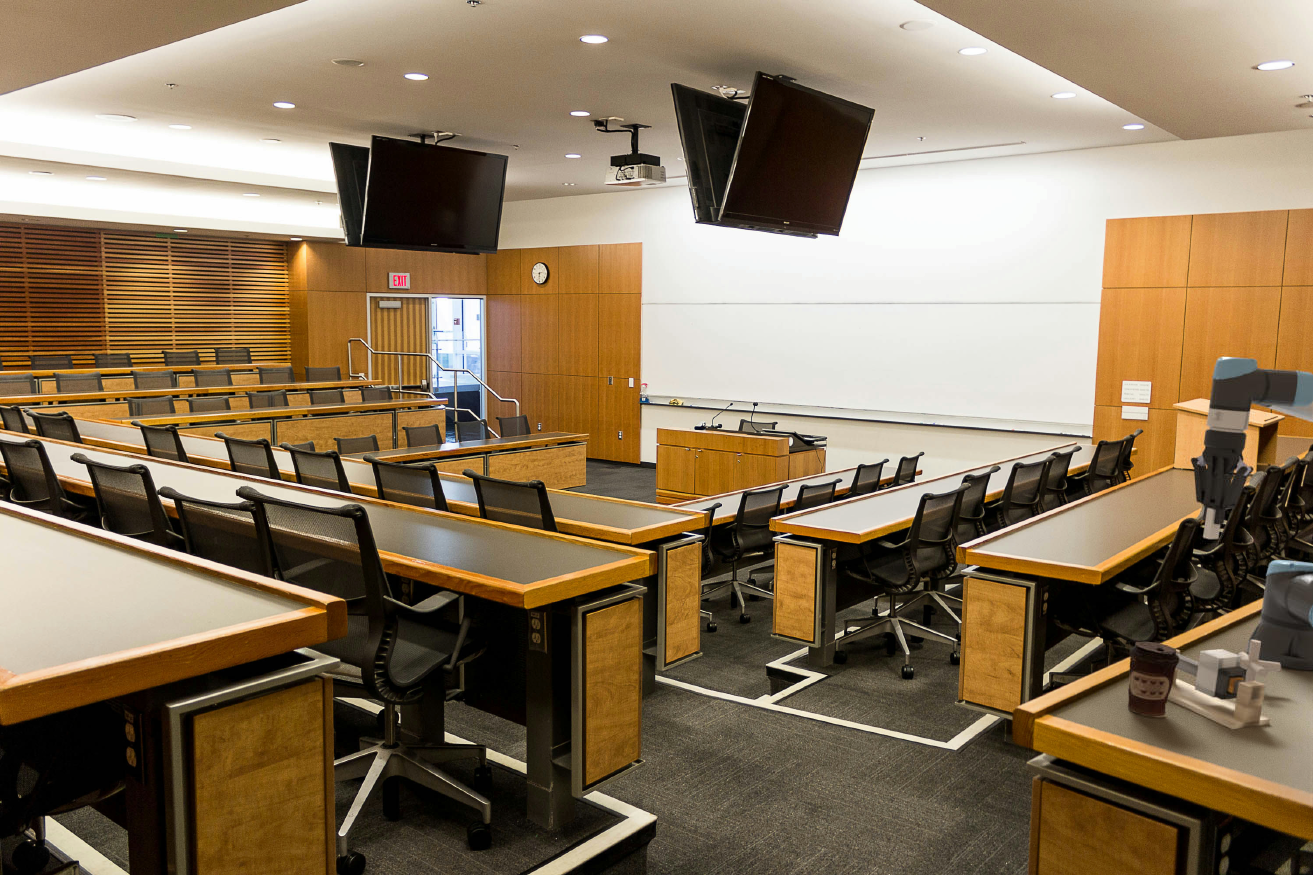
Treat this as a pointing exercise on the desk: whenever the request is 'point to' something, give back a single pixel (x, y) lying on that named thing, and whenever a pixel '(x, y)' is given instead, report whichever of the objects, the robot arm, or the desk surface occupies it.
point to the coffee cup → (1151, 677)
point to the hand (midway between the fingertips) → (1210, 537)
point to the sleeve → (1213, 668)
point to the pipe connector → (1256, 662)
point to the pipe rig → (1215, 708)
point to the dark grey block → (1223, 681)
